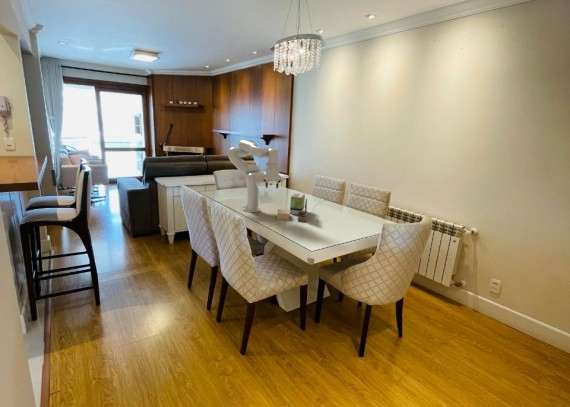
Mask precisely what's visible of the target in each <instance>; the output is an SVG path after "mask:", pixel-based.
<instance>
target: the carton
mask: <svg viewBox="0 0 570 407" xmlns="http://www.w3.org/2000/svg"><path fill="white" fill-rule="evenodd" d="M276 218H277V220H286V219H287V220H288V221H289V220H290V209H288V208H287V209H283V208H279V209H277V216H276ZM287 220H286V221H287Z"/></svg>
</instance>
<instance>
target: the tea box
mask: <svg viewBox="0 0 570 407" xmlns="http://www.w3.org/2000/svg"><path fill="white" fill-rule="evenodd" d="M305 197H306V194H304V193H295V192H293V194H292V195H291V196H290V204H289V205H290V206H289V215H290V214H292V215H298V216H299V212H305V201H306V198H305Z"/></svg>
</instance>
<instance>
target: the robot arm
mask: <svg viewBox="0 0 570 407" xmlns="http://www.w3.org/2000/svg"><path fill="white" fill-rule="evenodd" d="M250 154H251V156H252V157H256V158H260V159H263V158H264V159H266V158H267V163H265V166H266V170H265V172H264V171H263V170H262V169H261V168H260V167H259V166H258V165H256V164H255V163H247V162H246V161H245V160H244V159H243V158H245V157H247V156H248V155H250ZM227 157H228V159H229V161H230V162H231V163H232V165H233V166H235V167H236V169H237V170H238V171H239V172H240V173H241V175H243V176H245V177H246V178H245V179H246V180H245V181H246V189H247V190H246V192H247V193H246V204H241V207H242V208H244V211H245V212H248V213H257V212H260V211H261V208H259V198H260V195H259V194H260V192H259V191H260V189H259V187H258V185H260V184H264V183H265V188H266V189H268V186H269V183H268V181H275V182H276V184H275V187H276V188H275V189H276V190H277V189H278V188H279V184H280V183H281V182H282V181H283V179H284V178H283V177H282V176H280V168H279V149H277V148H272V147H258V144H257V143H256V142H255V141H254V140H253V139H242V140H240V141H239V142H238V146H233V147H231V148H229V149H228V151H227Z"/></svg>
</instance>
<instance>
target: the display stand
mask: <svg viewBox="0 0 570 407" xmlns="http://www.w3.org/2000/svg"><path fill="white" fill-rule="evenodd" d="M307 210H308V198H305V201H304V211H303V212H299V215H298V217H297V222H300V223H306V222H307ZM299 216H301V217H299Z"/></svg>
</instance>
